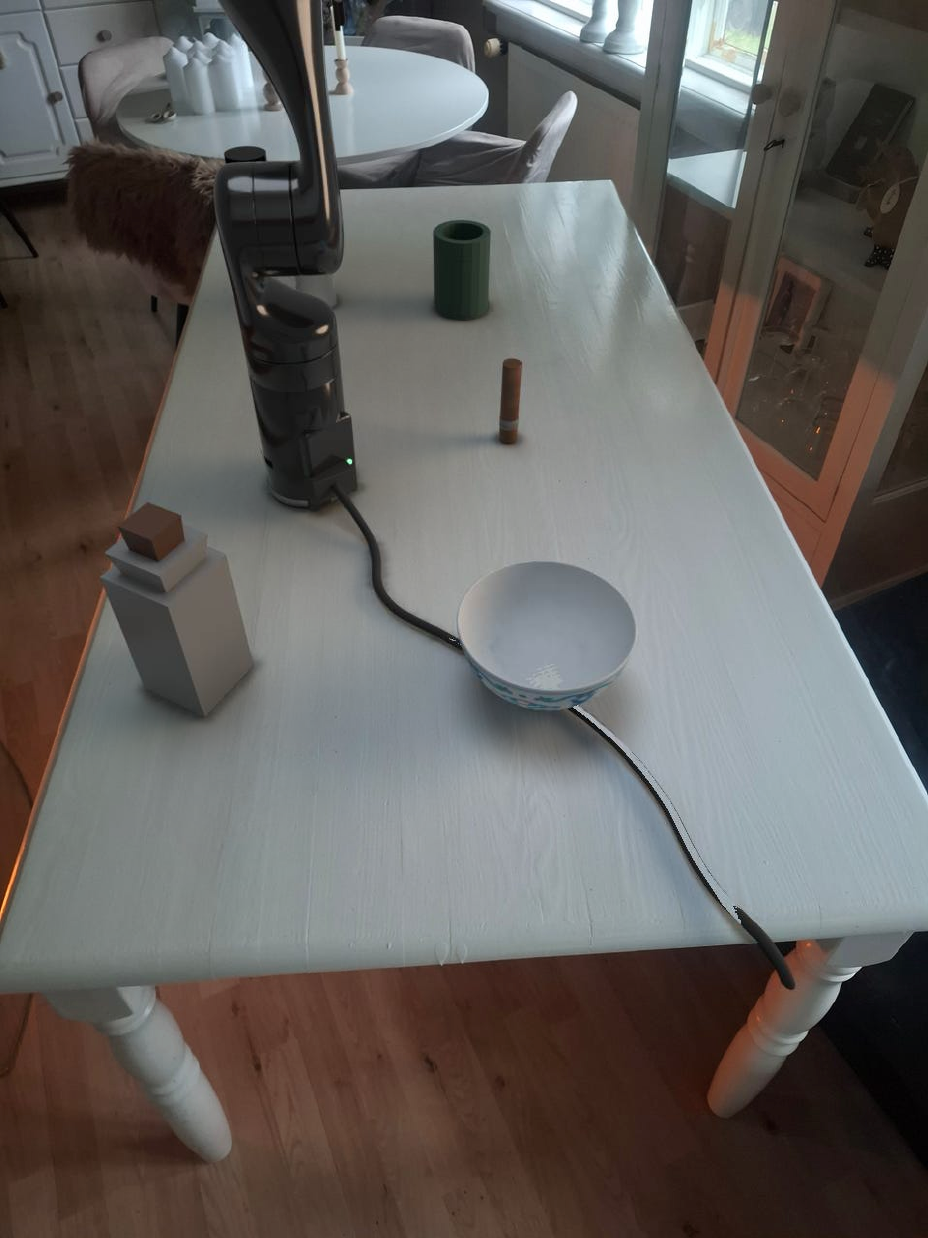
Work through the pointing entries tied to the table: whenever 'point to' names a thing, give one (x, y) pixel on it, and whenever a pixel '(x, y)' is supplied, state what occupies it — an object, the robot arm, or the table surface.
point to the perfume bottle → (177, 609)
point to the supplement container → (245, 154)
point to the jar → (461, 269)
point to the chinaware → (546, 632)
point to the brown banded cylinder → (510, 400)
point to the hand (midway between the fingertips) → (305, 27)
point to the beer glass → (318, 287)
